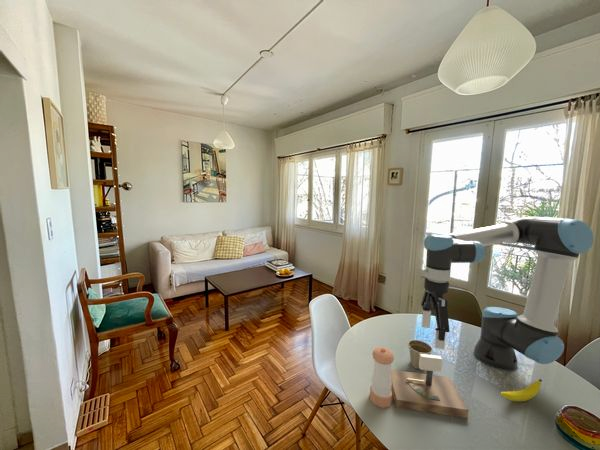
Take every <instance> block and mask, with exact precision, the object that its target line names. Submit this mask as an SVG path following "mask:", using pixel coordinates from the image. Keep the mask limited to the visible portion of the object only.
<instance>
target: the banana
mask: <svg viewBox="0 0 600 450" xmlns="http://www.w3.org/2000/svg"><path fill="white" fill-rule="evenodd" d="M541 382H543V380H542V379H541V378H540V379H538V380H537V381H534V382H532V383H531V384H529V386H527V387H526V388H523V389H519V390H512V391H500V394H501V396H502V397H503V398H504V399H506V400H509V401H512V402H520V403H521V402H526V401H529V400H531V399H533V398H534V397H535V396H536V395H537V394H538V393H539V392H540V389H541V386H542V383H541Z"/></svg>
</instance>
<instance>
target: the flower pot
mask: <svg viewBox="0 0 600 450" xmlns="http://www.w3.org/2000/svg"><path fill="white" fill-rule="evenodd" d="M407 346H408V349H409V357H410V360H409V361H410V364H411V366H412V367H413V368H415V369H417V370H420V368H419V358H420V354H428V355H432V352H433V349H434V348H433V347H432V346H431V344H429V343H427V342H425V341H423V340H420V339H411V340H409V341H408V342H407Z"/></svg>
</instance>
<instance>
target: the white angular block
mask: <svg viewBox="0 0 600 450" xmlns="http://www.w3.org/2000/svg"><path fill="white" fill-rule="evenodd" d="M442 366H443V358H442V357H441V355H435V354H430V355H428V354H420V358H419V368H420V369H419V370H421V371H426V373H425V374H426V384H427V385H428V386H431V385H432V376H433V375H434V372H437V373H438V372H439V373H441V372H442V368H443V367H442ZM407 381H415V382H423V383H425V381H424V380H419V379H412V378H407Z"/></svg>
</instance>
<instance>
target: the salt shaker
mask: <svg viewBox="0 0 600 450" xmlns="http://www.w3.org/2000/svg"><path fill="white" fill-rule="evenodd" d="M372 358H373V360H374V363H373V370H372V371H373V372H372V375H371V384H370V387H369V391H370V392H369V400H370V401H371V403H372V404H373V405H375V406H376V407H379V408H382V409H386V408H389V407H390V406H392V403H393V402H392V401H393V399H392V398H393V392H392V388H391V385H392V382H391V370H392V364H393V362H394V359H395V357H394V354H393V352H392V351H391V350H390V349H388V348H387V347H382V346H379V347H375V348H374V349H373V351H372Z"/></svg>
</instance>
